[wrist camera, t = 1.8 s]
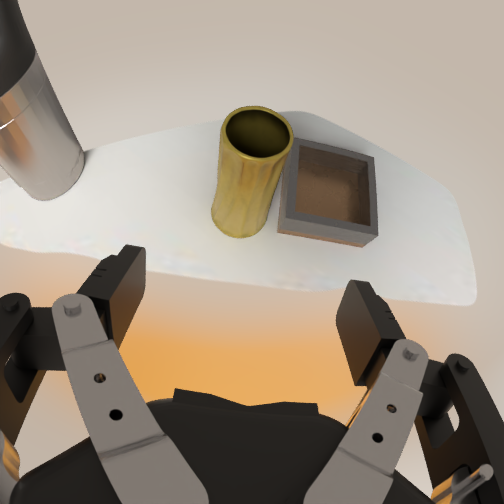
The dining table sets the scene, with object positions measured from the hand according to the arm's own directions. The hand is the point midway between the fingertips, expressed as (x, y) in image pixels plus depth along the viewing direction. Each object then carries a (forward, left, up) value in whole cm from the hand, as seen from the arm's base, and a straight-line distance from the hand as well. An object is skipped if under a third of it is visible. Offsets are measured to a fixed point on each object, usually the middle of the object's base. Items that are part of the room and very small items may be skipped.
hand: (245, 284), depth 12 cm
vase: (0, +12, -20) cm, 24 cm away
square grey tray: (+9, +16, -20) cm, 27 cm away
